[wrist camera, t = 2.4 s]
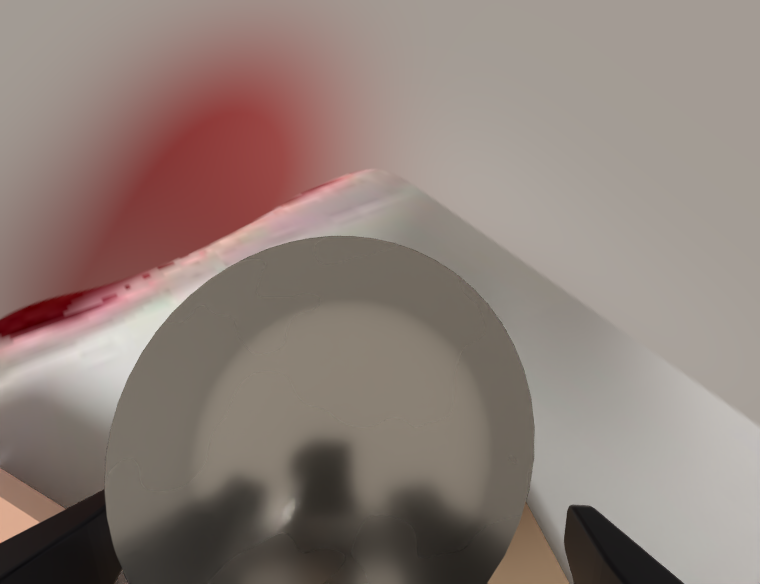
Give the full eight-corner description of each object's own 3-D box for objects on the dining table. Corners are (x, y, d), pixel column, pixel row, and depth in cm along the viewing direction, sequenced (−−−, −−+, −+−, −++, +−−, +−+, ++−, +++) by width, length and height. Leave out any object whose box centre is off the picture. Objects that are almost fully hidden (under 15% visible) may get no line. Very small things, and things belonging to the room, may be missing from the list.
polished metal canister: (487, 534, 15) (638, 536, 5) (332, 611, 14) (111, 808, 4) (418, 386, 18) (419, 194, 8) (287, 441, 17) (100, 308, 7)
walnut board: (628, 707, 13) (640, 717, 12) (272, 915, 11) (263, 939, 11) (420, 310, 21) (420, 303, 20) (195, 399, 19) (187, 395, 19)
